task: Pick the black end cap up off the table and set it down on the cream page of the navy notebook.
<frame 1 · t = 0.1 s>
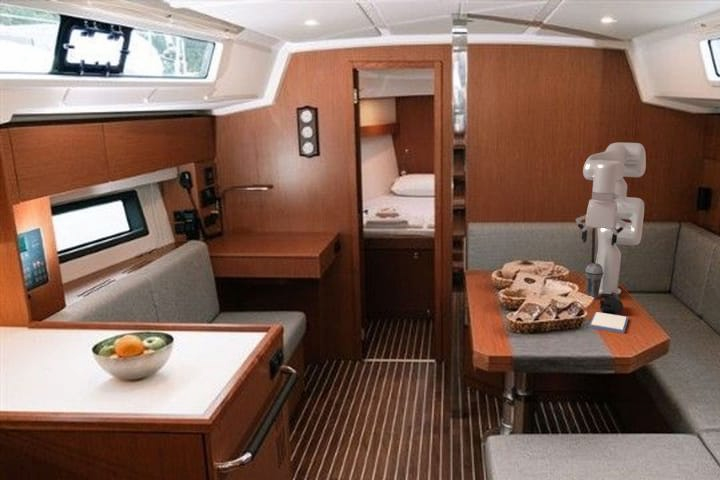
hand: (598, 243, 214), 31 cm above the table, tool pointing down, fingers open, 9 cm apart
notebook: (608, 323, 220), on the table
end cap: (610, 312, 233), on the table
beverage cup: (591, 298, 250), on the table
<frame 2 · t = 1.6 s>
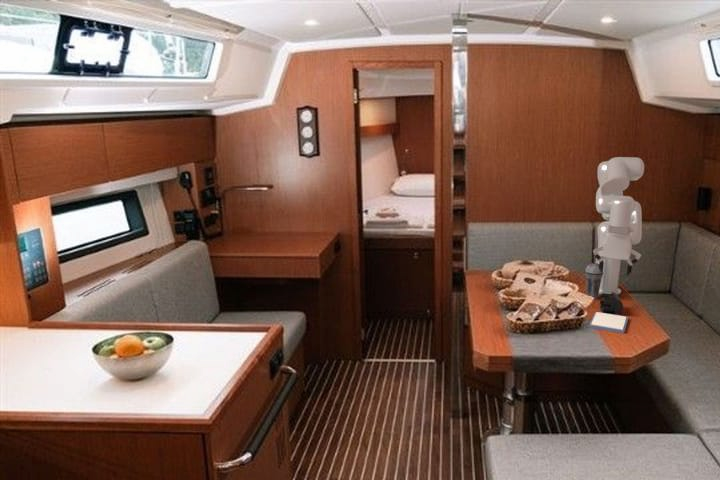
hand: (614, 272, 229), 16 cm above the table, tool pointing down, fingers open, 9 cm apart
nothing on the table moved.
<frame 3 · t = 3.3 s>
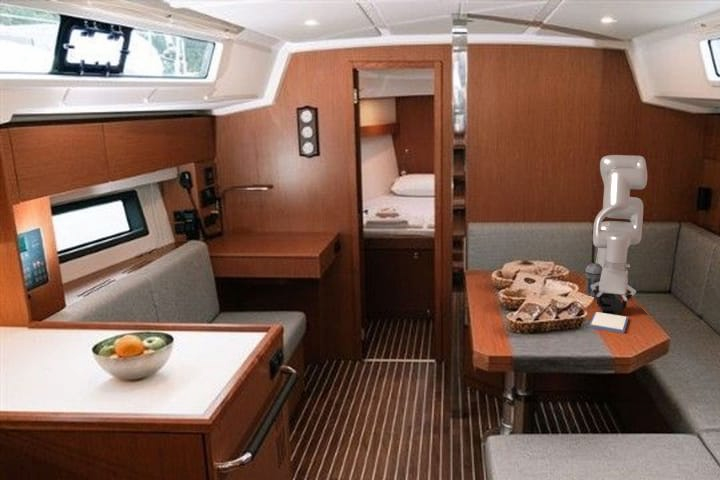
hand: (611, 307, 233), 2 cm above the table, tool pointing down, fingers closed on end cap, 8 cm apart
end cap: (610, 311, 233), on the table, touching gripper
everything else where it was.
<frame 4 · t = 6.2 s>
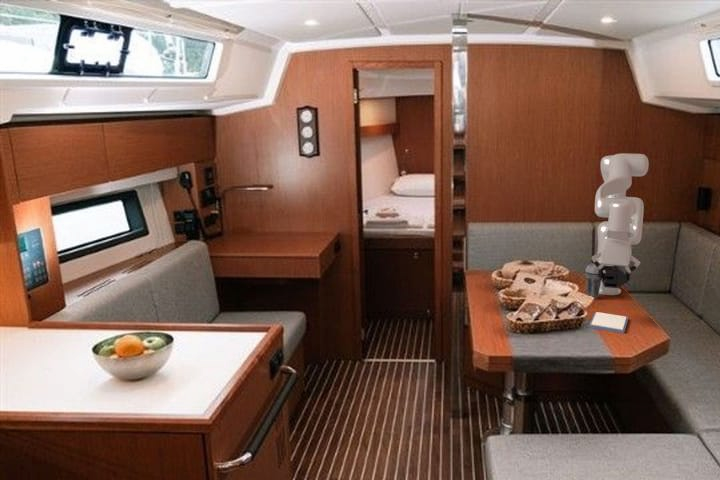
hand: (613, 280, 218), 17 cm above the table, tool pointing down, fingers closed on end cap, 8 cm apart
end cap: (612, 285, 218), point 15 cm above the table, touching gripper
everything else where it was.
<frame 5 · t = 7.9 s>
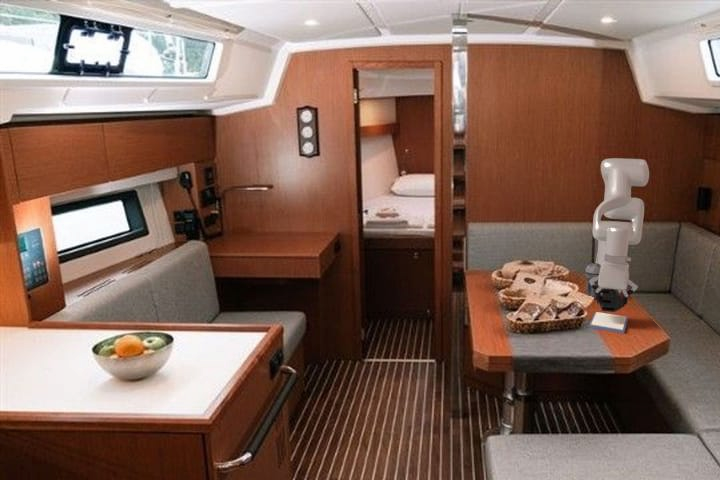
hand: (610, 303, 218), 8 cm above the table, tool pointing down, fingers closed on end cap, 8 cm apart
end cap: (610, 308, 219), point 6 cm above the table, touching gripper
everything else where it was.
when the fingers open (4 cm above the table, at t = 9.3 s): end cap stays where it is, resting on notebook.
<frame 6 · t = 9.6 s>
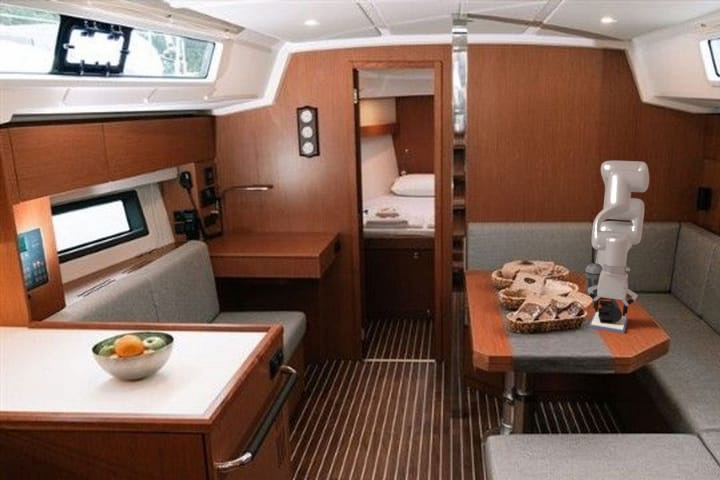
hand: (609, 312, 219), 4 cm above the table, tool pointing down, fingers open, 9 cm apart
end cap: (609, 320, 220), point 1 cm above the table, touching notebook
everything else where it was.
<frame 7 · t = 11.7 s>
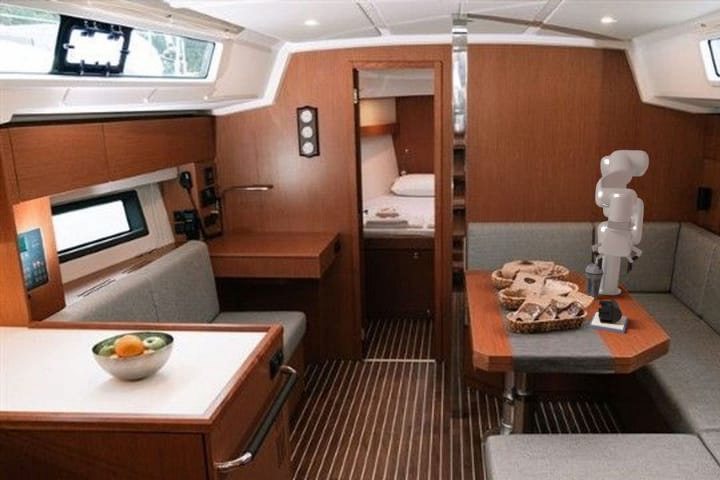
hand: (614, 270, 216), 21 cm above the table, tool pointing down, fingers open, 9 cm apart
nothing on the table moved.
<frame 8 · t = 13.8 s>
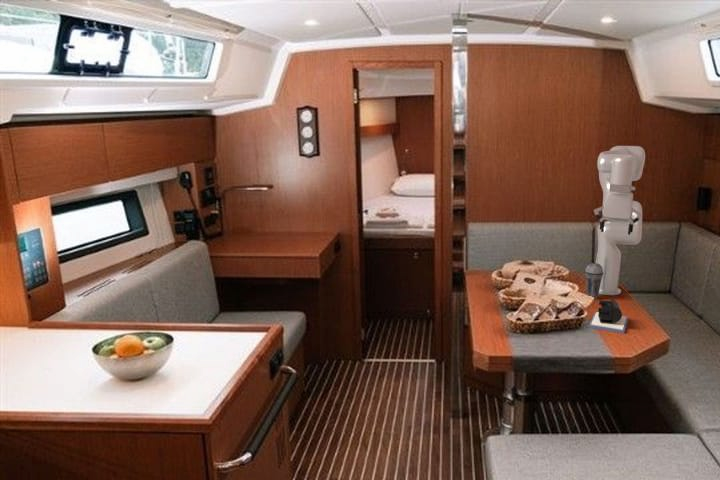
hand: (615, 232, 226), 32 cm above the table, tool pointing down, fingers open, 9 cm apart
nothing on the table moved.
at the end: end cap inside the target area on the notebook (0.3 cm from its centre), point 1.1 cm above the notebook's base; the gripper is holding nothing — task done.
